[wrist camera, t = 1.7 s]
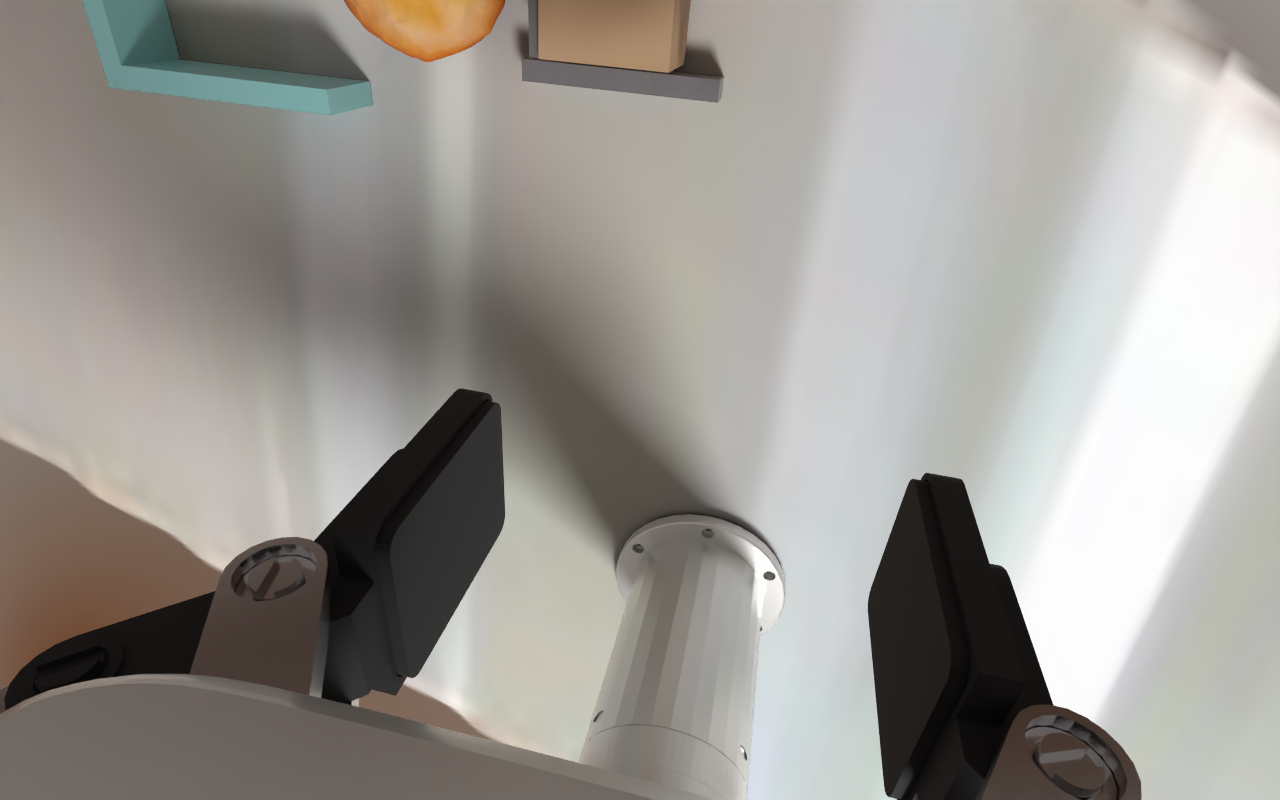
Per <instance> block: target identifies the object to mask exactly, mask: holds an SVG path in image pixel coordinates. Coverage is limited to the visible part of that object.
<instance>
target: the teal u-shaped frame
mask: <svg viewBox="0 0 1280 800" xmlns="http://www.w3.org/2000/svg"><path fill="white" fill-rule="evenodd" d="M82 2H83V5H84V8H85V11H86V15H87V18H88V21H89V24H90V28H91V31H92V34H93V37H94V40H95V44H96V47H97V50H98V53H99V57H100V60H101V63H102V66H103V70H104V73H105V76H106V79H107V83H108V86H109V88H116V89H124V90H132V91H140V92H148V93H156V94H164V95H172V96H180V97H188V98H196V99H204V100H212V101H220V102H229V103H237V104H245V105H253V106H261V107H269V108H277V109H285V110H293V111H301V112H309V113H317V114H325V115H333V114H337V113H341V112H345V111H349V110H353V109H358V108H362V107H366V106H370V105H373V104H372V95H371V87H370V81H361V80H353V79H344V78H335V77H327V76H318V75H309V74H301V73H292V72H284V71H275V70H266V69H258V68H249V67H240V66H232V65H223V64H214V63H206V62H197V61H189V60H180V58H179V54H178V50H177V46H176V42H175V38H174V34H173V30H172V26H171V22H170V18H169V14H168V10H167V6H166V2H165V0H82Z"/></svg>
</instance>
